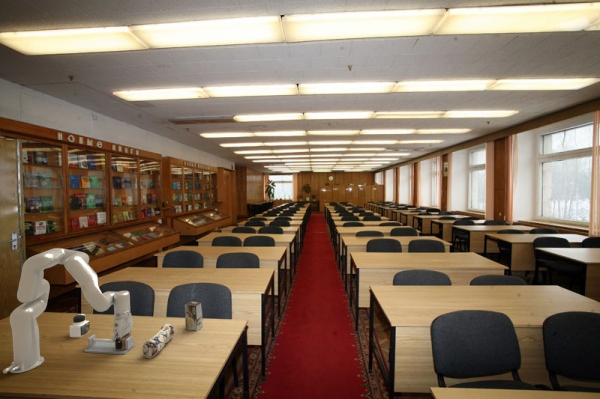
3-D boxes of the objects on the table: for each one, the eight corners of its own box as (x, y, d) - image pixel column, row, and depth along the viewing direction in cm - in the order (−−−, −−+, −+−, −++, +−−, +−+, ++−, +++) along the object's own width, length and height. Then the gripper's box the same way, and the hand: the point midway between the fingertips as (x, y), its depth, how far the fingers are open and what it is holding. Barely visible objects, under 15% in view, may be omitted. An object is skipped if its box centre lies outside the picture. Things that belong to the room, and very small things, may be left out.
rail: (125, 354, 154) (124, 342, 154) (84, 352, 156) (83, 340, 156) (136, 345, 163) (135, 334, 163) (97, 343, 165) (97, 332, 165)
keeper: (123, 349, 156) (123, 339, 156) (115, 349, 156) (114, 338, 156) (131, 343, 162) (130, 333, 161) (123, 343, 162) (122, 333, 162)
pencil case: (157, 359, 150) (156, 340, 150) (141, 358, 150) (140, 340, 150) (176, 337, 172) (175, 321, 171) (162, 337, 172) (161, 321, 172)
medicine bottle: (81, 337, 172) (80, 318, 171) (69, 337, 172) (68, 318, 172) (90, 331, 179) (89, 313, 179) (78, 331, 179) (78, 312, 179)
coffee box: (203, 326, 185) (202, 302, 184) (197, 331, 179) (196, 306, 178) (191, 324, 188) (190, 300, 187) (184, 329, 182) (184, 304, 181)
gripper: (117, 321, 149) (118, 354, 150) (138, 307, 166) (139, 337, 167) (104, 320, 150) (105, 354, 151) (126, 307, 167) (127, 337, 168)
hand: (123, 345), depth 159 cm, fingers closed on keeper, 6 cm apart
